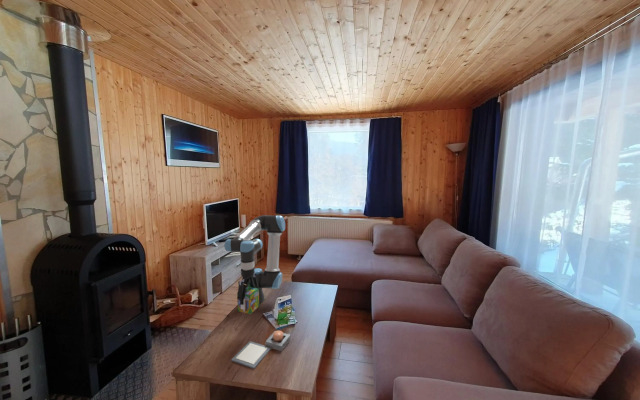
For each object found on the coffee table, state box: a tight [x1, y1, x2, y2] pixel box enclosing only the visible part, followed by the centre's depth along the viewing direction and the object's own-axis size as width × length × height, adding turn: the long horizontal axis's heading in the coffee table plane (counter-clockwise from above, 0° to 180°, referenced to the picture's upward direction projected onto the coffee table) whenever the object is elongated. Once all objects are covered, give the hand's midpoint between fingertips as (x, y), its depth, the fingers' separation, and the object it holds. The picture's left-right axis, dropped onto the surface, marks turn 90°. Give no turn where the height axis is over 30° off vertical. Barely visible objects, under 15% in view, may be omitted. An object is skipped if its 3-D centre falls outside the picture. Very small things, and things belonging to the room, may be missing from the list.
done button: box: [272, 330, 284, 342], centre depth 136 cm, size 6×6×2 cm
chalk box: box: [236, 284, 260, 315], centre depth 141 cm, size 9×9×15 cm
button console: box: [265, 332, 291, 352], centre depth 136 cm, size 10×10×3 cm
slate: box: [230, 340, 272, 370], centre depth 127 cm, size 15×14×1 cm
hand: (248, 304), depth 142 cm, fingers closed on chalk box, 9 cm apart
